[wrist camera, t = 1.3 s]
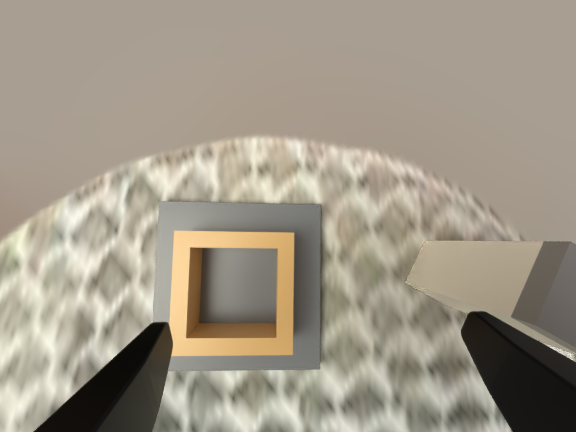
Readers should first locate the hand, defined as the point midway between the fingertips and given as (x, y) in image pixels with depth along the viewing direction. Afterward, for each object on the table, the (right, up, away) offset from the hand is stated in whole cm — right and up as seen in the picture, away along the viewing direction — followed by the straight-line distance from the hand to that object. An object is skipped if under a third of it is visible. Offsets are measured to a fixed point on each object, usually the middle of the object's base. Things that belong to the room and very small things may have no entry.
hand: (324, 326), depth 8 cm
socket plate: (-5, -3, +16) cm, 17 cm away
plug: (+13, -2, +17) cm, 21 cm away
